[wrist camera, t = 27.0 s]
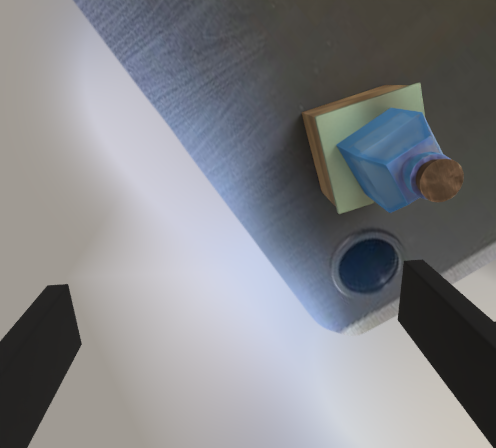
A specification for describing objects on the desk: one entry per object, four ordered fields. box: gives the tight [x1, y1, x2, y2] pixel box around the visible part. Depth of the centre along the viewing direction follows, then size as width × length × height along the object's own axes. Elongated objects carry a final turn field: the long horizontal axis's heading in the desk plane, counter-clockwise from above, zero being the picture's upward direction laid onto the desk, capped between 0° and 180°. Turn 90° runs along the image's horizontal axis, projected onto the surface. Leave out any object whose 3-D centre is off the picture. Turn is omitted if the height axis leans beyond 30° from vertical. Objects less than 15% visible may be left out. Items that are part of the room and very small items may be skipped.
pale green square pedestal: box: [302, 83, 425, 214], centre depth 43 cm, size 10×10×8 cm
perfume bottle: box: [336, 108, 464, 213], centre depth 33 cm, size 6×6×12 cm
